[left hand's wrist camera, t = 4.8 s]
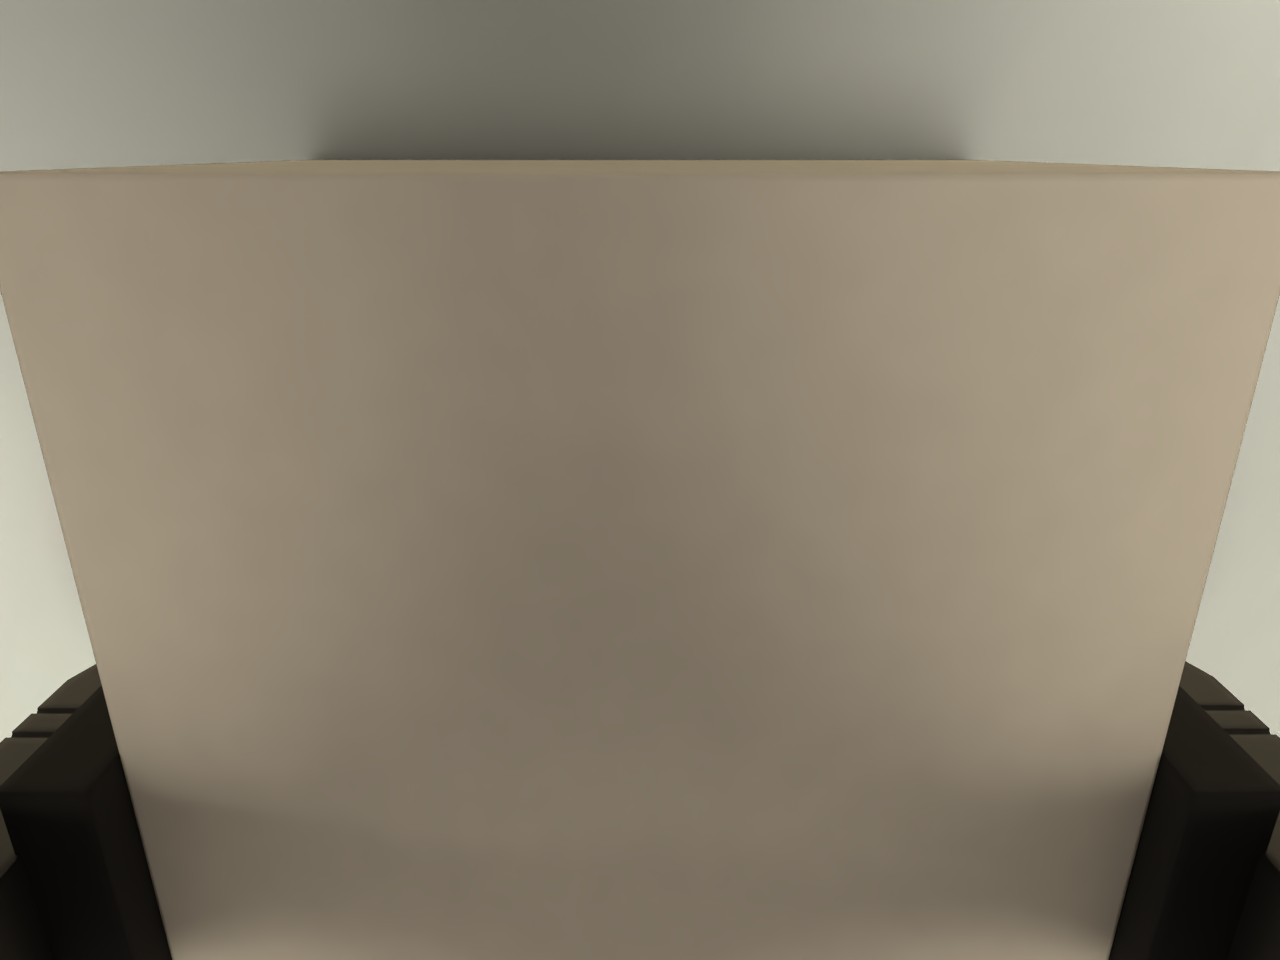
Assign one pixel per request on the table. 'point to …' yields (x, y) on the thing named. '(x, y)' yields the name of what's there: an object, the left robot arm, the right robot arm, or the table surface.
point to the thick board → (640, 539)
